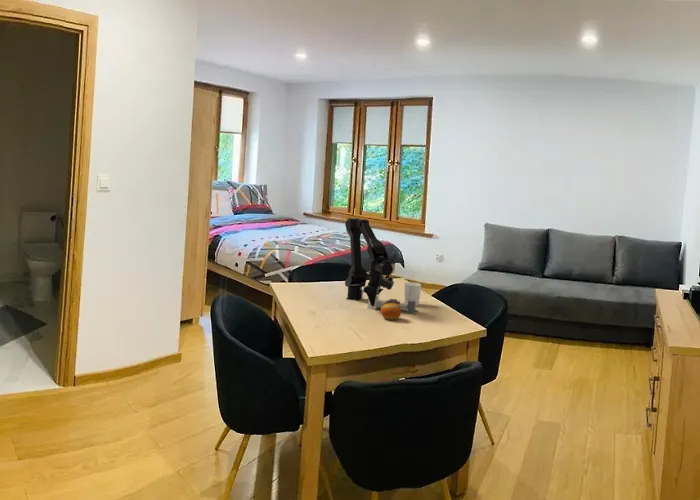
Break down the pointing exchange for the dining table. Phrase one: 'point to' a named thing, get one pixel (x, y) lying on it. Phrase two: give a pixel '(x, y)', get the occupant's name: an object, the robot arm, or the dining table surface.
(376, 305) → the grey bar
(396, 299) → the housing
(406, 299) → the white cup
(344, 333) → the dining table surface
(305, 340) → the dining table surface
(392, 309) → the fruit
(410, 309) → the telltale
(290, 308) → the dining table surface
